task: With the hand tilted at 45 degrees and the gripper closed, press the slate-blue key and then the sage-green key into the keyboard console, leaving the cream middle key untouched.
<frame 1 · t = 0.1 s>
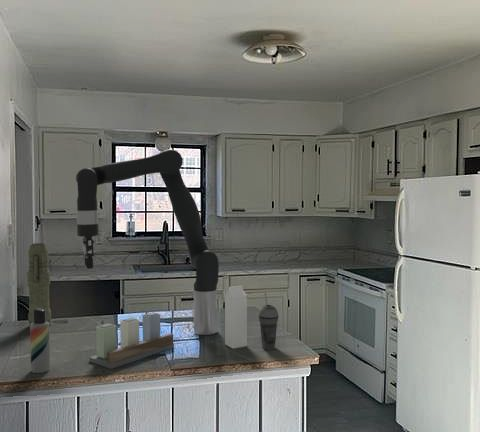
hand: (88, 266, 187), 29 cm above the counter, tool pointing down, fingers open, 8 cm apart
thermos: (39, 326, 215), on the counter
milk: (235, 345, 187), on the counter
key cream: (129, 333, 178), point 7 cm above the counter, slide at 0.0 cm
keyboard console: (132, 354, 177), on the counter
key slate: (151, 327, 186), point 7 cm above the counter, slide at 0.0 cm
beverage cup: (268, 348, 184), on the counter
lotion bottle: (40, 370, 162), on the counter
key sage: (106, 340, 170), point 7 cm above the counter, slide at 0.0 cm
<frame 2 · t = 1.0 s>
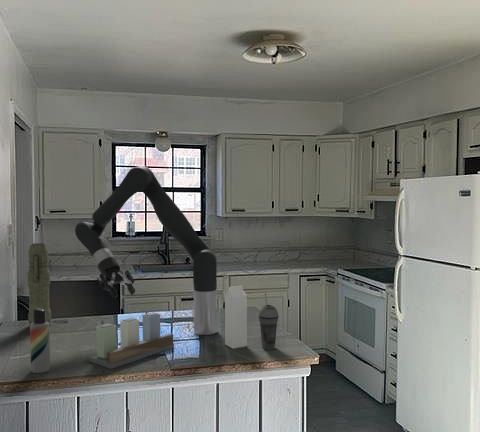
hand: (125, 295, 194), 17 cm above the counter, tool tilted 45°, fingers open, 7 cm apart
nothing on the counter moved.
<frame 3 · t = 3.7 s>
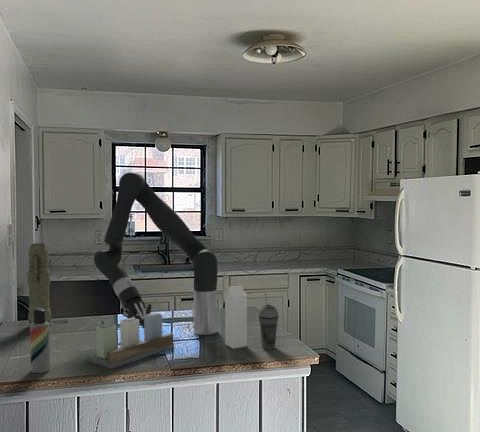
hand: (148, 328, 187), 6 cm above the counter, tool tilted 45°, fingers closed
key slate: (153, 328, 185), point 7 cm above the counter, slide at 0.9 cm, touching gripper
everything else where it was.
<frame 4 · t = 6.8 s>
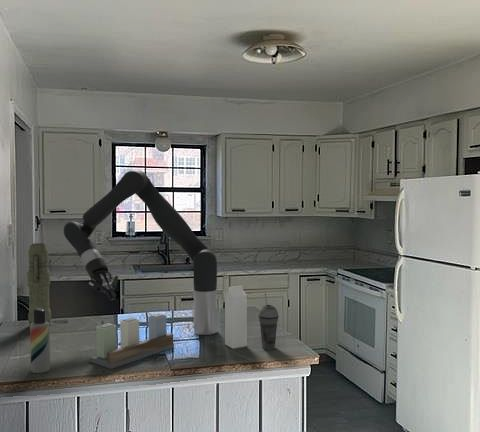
hand: (113, 299, 190), 17 cm above the counter, tool tilted 45°, fingers closed
key slate: (157, 329, 184), point 7 cm above the counter, slide at 3.3 cm
everything else where it was.
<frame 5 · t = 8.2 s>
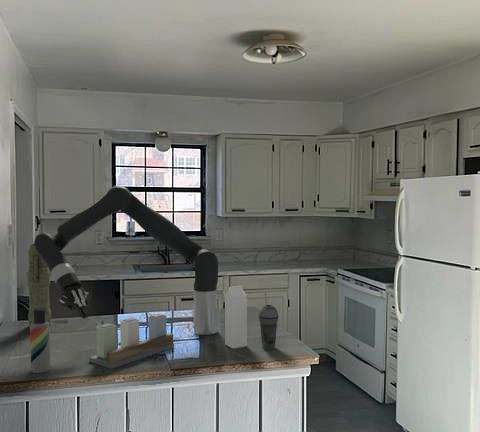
hand: (86, 317, 177), 13 cm above the counter, tool tilted 45°, fingers closed
nothing on the counter moved.
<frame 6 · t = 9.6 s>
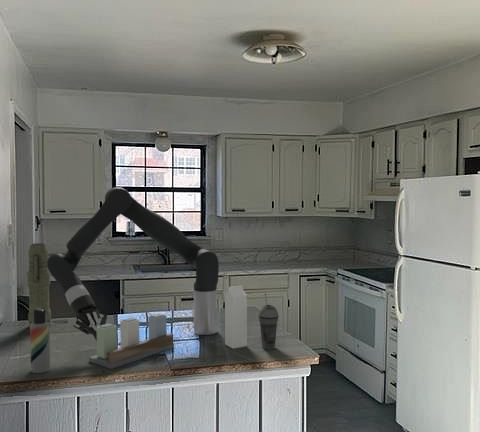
hand: (102, 341, 172), 6 cm above the counter, tool tilted 45°, fingers closed
key sage: (106, 340, 170), point 7 cm above the counter, slide at 0.2 cm, touching gripper
everything else where it was.
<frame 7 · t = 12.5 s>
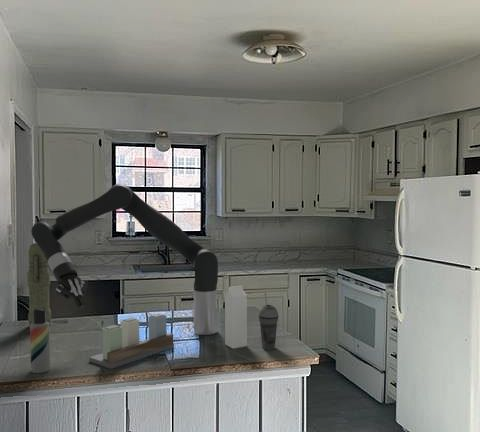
hand: (82, 306, 179), 16 cm above the counter, tool tilted 45°, fingers closed
key sage: (112, 342, 168), point 7 cm above the counter, slide at 3.2 cm
everything else where it was.
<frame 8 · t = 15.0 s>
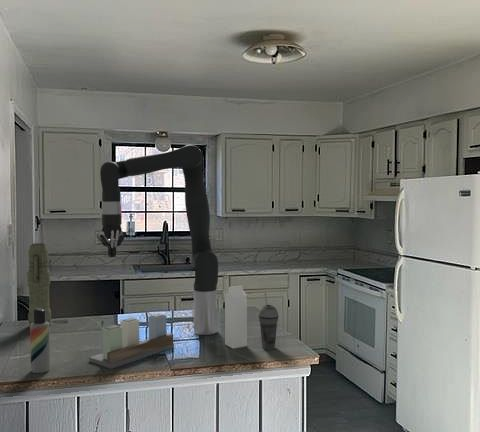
hand: (112, 257, 200), 31 cm above the counter, tool pointing down, fingers closed
nothing on the counter moved.
at the end: key slate slide at 3.3 cm; key sage slide at 3.2 cm; key cream slide at 0.0 cm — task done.
